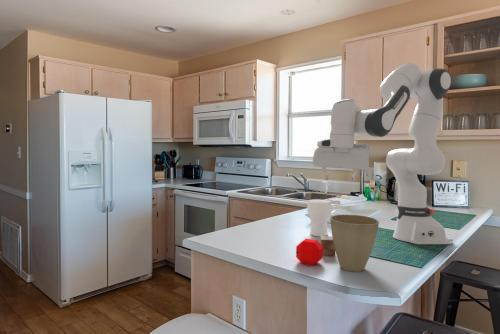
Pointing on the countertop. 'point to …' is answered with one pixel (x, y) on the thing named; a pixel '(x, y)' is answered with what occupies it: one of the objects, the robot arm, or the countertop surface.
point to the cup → (319, 216)
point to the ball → (309, 251)
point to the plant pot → (353, 240)
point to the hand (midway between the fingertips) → (339, 180)
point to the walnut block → (327, 246)
